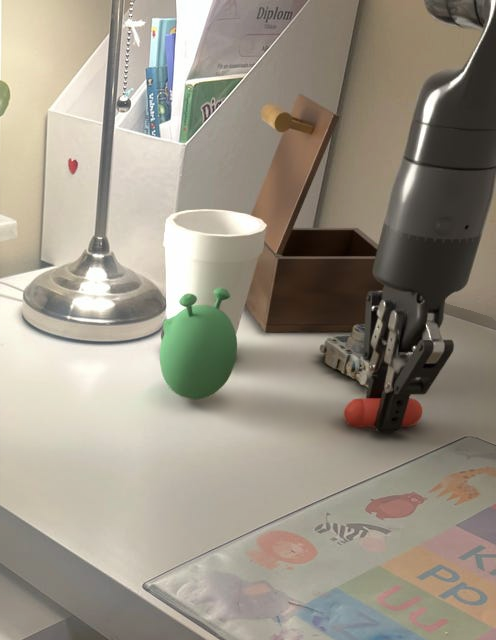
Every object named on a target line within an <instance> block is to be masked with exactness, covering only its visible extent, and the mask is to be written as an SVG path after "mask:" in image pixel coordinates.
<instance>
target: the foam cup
mask: <svg viewBox="0 0 496 640" xmlns="http://www.w3.org/2000/svg"><path fill="white" fill-rule="evenodd" d="M266 228H267V225H266V224H265V223H264V222H263V221H262V220H261V219H259V218H256V217H254V216H251V214H248V213H243V212H238V211H232V210H228V209H227V210H225V209H209V208H203V209H185V210H181V211H178V212H174V213H171V214H170V215H169V216H168V217H167V218H166V219H165V229H164V238H163V247H165V286H166V287H165V288H166V292H165V293H166V319H169V318H171V317H173V316H175V315H177V314H178V313H179V312H180V311H182V310H183V309H185V308H186V307H184V306H182V305H180V303H179V300H180V298H181V297H182V296H183V295H185V294H193V295H195V296H196V297H197V301H196V302H195V303H194V304H193V305H192V306H194V305H208V306H213V307H214V306H215V303H216V300H217V298H216V296H215V295H214V292H213V291H214V290H215V289H218V288H223V289H226V290H227V291H228V292H229V294H230V297H229V298H228V299H226V300H222V302H221V304H220V307H219V310H221V311H223V312H224V313H225V314H226V315H227V316H228V318H229V319H230V320H231V322H232V324H233V327H234V330H235V333H236V334H237V333H238V330H239V326H240V323H241V320H242V317H243V314H244V313H243V312H244V309H245V307H246V305H245V302H246V299H247V296H248V292H249V289H250V285H251V282H252V279H253V275H254V272H255V268H256V265H257V261H258V258H259V256H260V254H261V253H262V251H263V246H264V240H265V234H266Z"/></svg>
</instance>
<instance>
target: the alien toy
mask: <svg viewBox="0 0 496 640" xmlns="http://www.w3.org/2000/svg"><path fill="white" fill-rule="evenodd" d="M213 292H214V295H215V296H216V298H217V300H216V303H215V306H214V307H213V306H208V305H194V306H192V305H193V304H194V303H195V302H196V301H197V297H196V296H195V295H193V294H185V295H183V296H182V297H181V298H180V300H179V303H180V305H182V306H184V307H186V308H185V309H183V310H182V311H180V312H179V313H178V314H177V315H175V316H173V317H171V318H169V319H167V318H166V319H164V320H163V322H162V323H163V324H162V329H161V332H160V347H159V364H160V370H161V375H162V377H163V379H164V381H165V383H166V385H167V386H168V388H169V389H171V391H173V393H175V394H176V395H178V396H180V397H182V398H185V399H189V400H201V399H206V398H209V397H210V396H212V395H214V394H216V393H217V392H219V390H221V389H222V388H223V387H224V386H225V384H226V383H227V381H228V380H229V378H230V377H231V374H232V372H233V370H234V367H235V364H236V361H237V356H238V355H237V354H238V339H237V333H235V330H234V327H233V324H232V322H231V320H230V319H229V318H228V316H227V315H226V314H225V313H224V312H223V311H221V310H219V307H220V304H221V302H222V300H226V299H228V298H229V297H230V294H229V292H228V291H227V290H226V289H223V288H218V289H215V290H214V291H213Z"/></svg>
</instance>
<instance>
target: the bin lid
mask: <svg viewBox="0 0 496 640" xmlns="http://www.w3.org/2000/svg"><path fill="white" fill-rule="evenodd" d="M260 113H261V114H260V117H261V120H262V121H263V122H264V123H266V124H267V125H268V126H269V127H271V128H272V129H274V130H275V131H277V133H282V135H281V137H280V140H279V142H278V145H277V147H276V150H275V152H274V155H273V157H272V160H271V162H270V165H269V167H268V170H267V173H266V175H265V179H264V181H263V182H262V185H261V188H260V191H259V192H258V195H257V198H256V201H255V203H254V205H253V207H252V208H253V209H252V210H251V214H250V215H251V216H254V217H256V218H259V219H261V220H262V221H263V222H264V223H265V224H266V225H267V228H266V234H265V240H264V241H265V242H266V243H267V244H268V246H269V247H270V248H271V249H272V250H273V251H274V252H275V253H276V254H279V255H282V253H283V250H284V248H285V246H286V243H287V241H288V239H289V236H290V234H291V231H292V229H293V228H295V224H296V222H297V219H298V217H299V215H300V212H301V211H302V208H303V206H304V203H305V201H306V198H307V196H308V194H309V191H310V188H311V186H312V184H313V181H314V179H315V176H316V174H317V172H318V169H319V167H320V165H321V162H322V160H323V158H324V155H325V153H326V150H327V148H328V145H329V144H330V141H331V139H332V137H333V134H334V131H335V129H336V126H337V124H338V122H339V120H340V118H341V116H340V115H339V114H337V113H335V112H334V111H332V110H331V109H329V108H327V107H326V106H324V105H322V104H320V103H318V102H317V101H315V100H313V99H312V98H310V97H308V96H306V95H305V94H302V93H298V94H297V96H296V99H295V101H294V103H293V106H292V109H291V112H290V113H289V112H287V111H286V110H285V109H283V108H281V107H280V106H278V105H277V104H275V103H271V102H270V103H267V104H266V105H264V106H263V108H262V109H261V112H260Z"/></svg>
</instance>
